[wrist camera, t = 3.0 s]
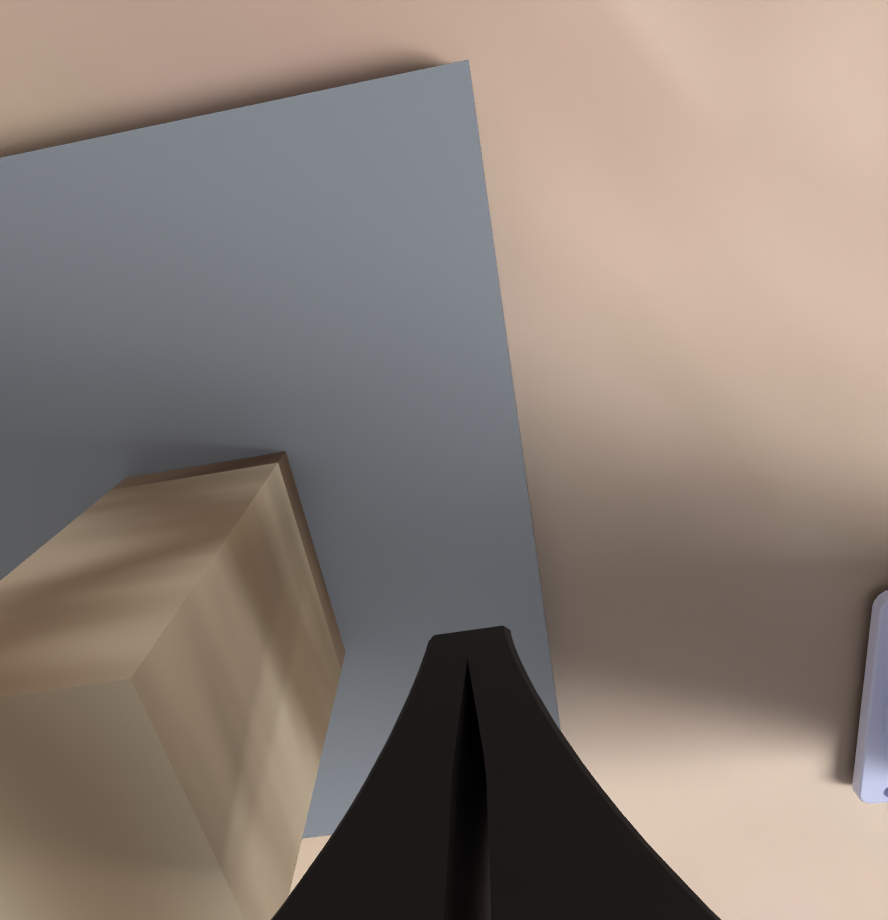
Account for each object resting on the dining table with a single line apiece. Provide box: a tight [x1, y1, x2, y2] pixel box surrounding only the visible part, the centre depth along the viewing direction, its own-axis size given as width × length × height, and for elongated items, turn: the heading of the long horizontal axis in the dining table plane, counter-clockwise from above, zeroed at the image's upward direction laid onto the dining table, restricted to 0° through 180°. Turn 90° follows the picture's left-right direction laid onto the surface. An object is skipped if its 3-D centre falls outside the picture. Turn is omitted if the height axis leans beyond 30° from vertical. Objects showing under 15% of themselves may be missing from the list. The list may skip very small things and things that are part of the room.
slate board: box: [0, 60, 561, 838], centre depth 16 cm, size 18×20×1 cm
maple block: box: [0, 451, 346, 920], centre depth 12 cm, size 4×6×8 cm, turn 10°
